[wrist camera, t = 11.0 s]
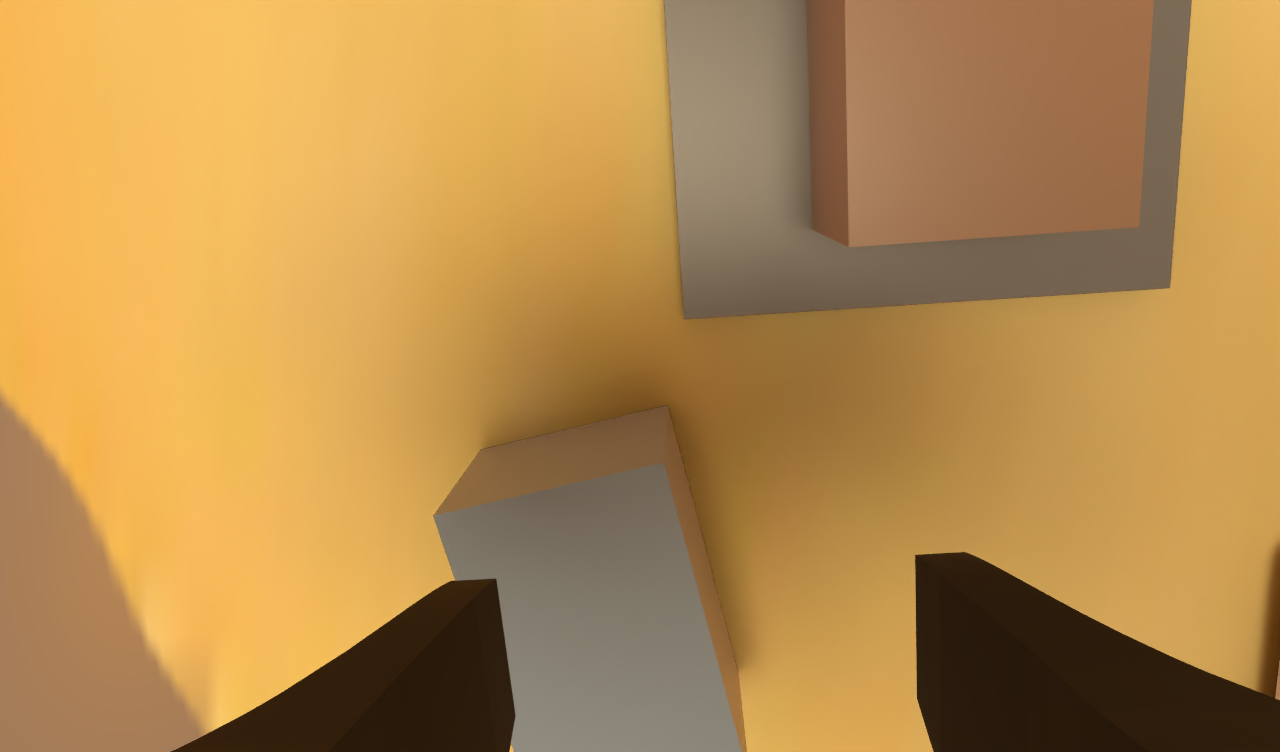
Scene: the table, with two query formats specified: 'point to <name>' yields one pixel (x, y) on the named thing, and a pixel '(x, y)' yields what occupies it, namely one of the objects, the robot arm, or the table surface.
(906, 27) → the brown brick
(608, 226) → the table surface
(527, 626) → the grey brick
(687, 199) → the baseplate
